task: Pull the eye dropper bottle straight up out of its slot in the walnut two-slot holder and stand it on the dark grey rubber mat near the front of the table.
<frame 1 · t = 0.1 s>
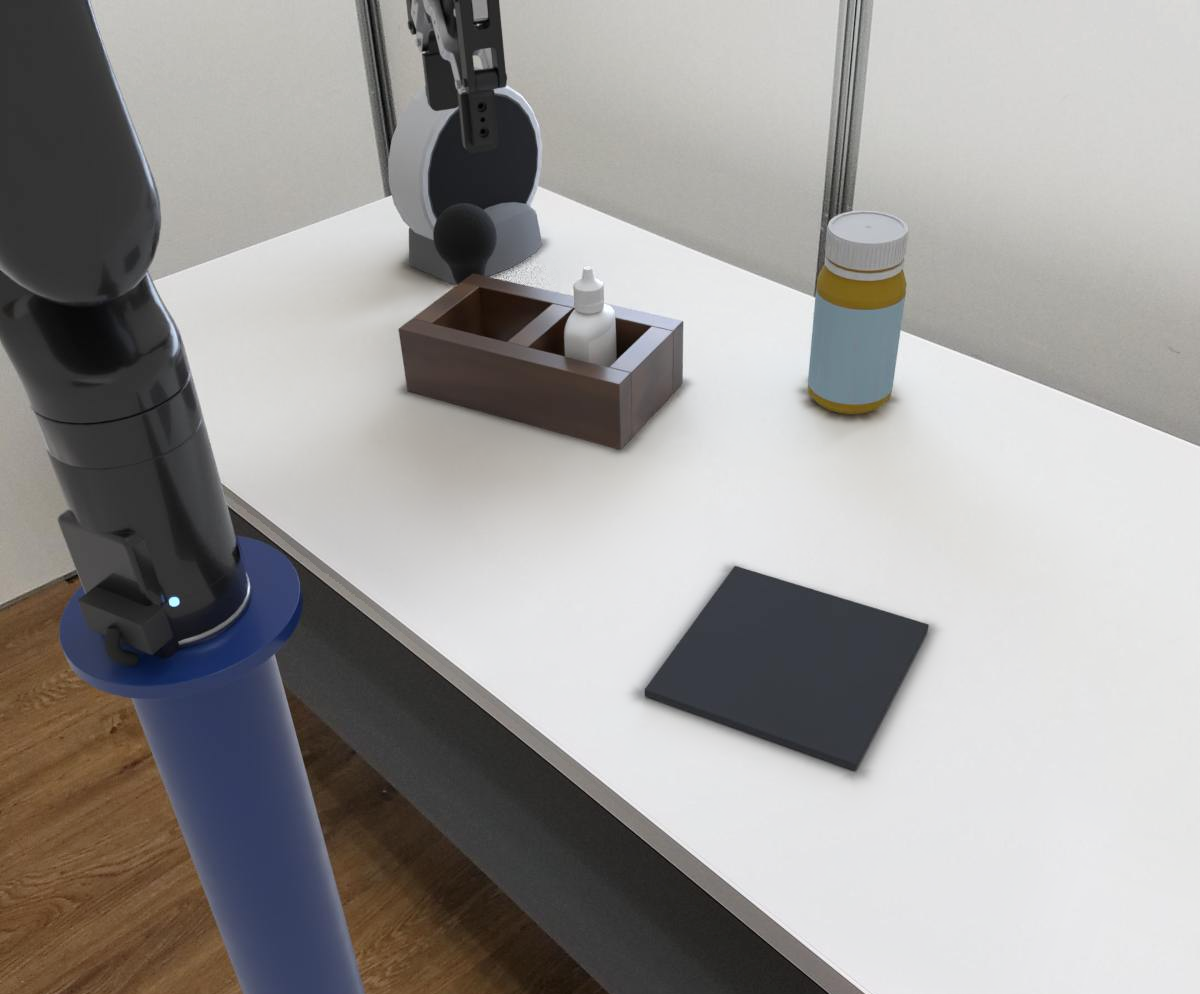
hand: (462, 128, 85), 26 cm above the table, tool pointing down, fingers open, 8 cm apart
mat: (789, 662, 82), on the table
holder: (544, 387, 109), on the table
eye dropper bottle: (592, 401, 107), resting in holder
alarm clock: (476, 255, 130), on the table
light bulb: (472, 308, 121), on the table
bottle: (848, 397, 107), on the table
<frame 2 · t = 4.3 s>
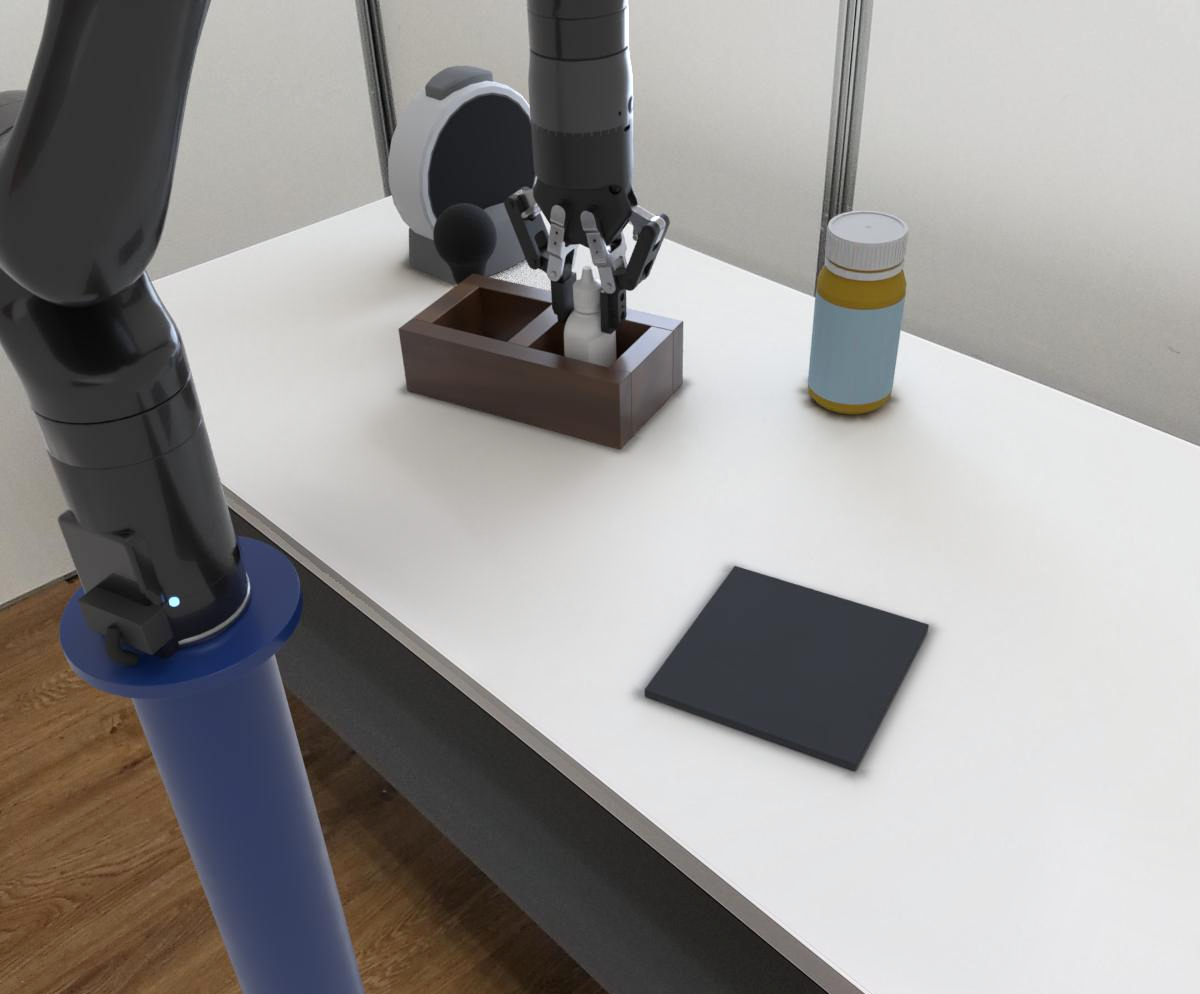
hand: (589, 323, 103), 7 cm above the table, tool pointing down, fingers closed on eye dropper bottle, 3 cm apart
eye dropper bottle: (592, 401, 107), resting in holder, touching gripper
everything else where it was.
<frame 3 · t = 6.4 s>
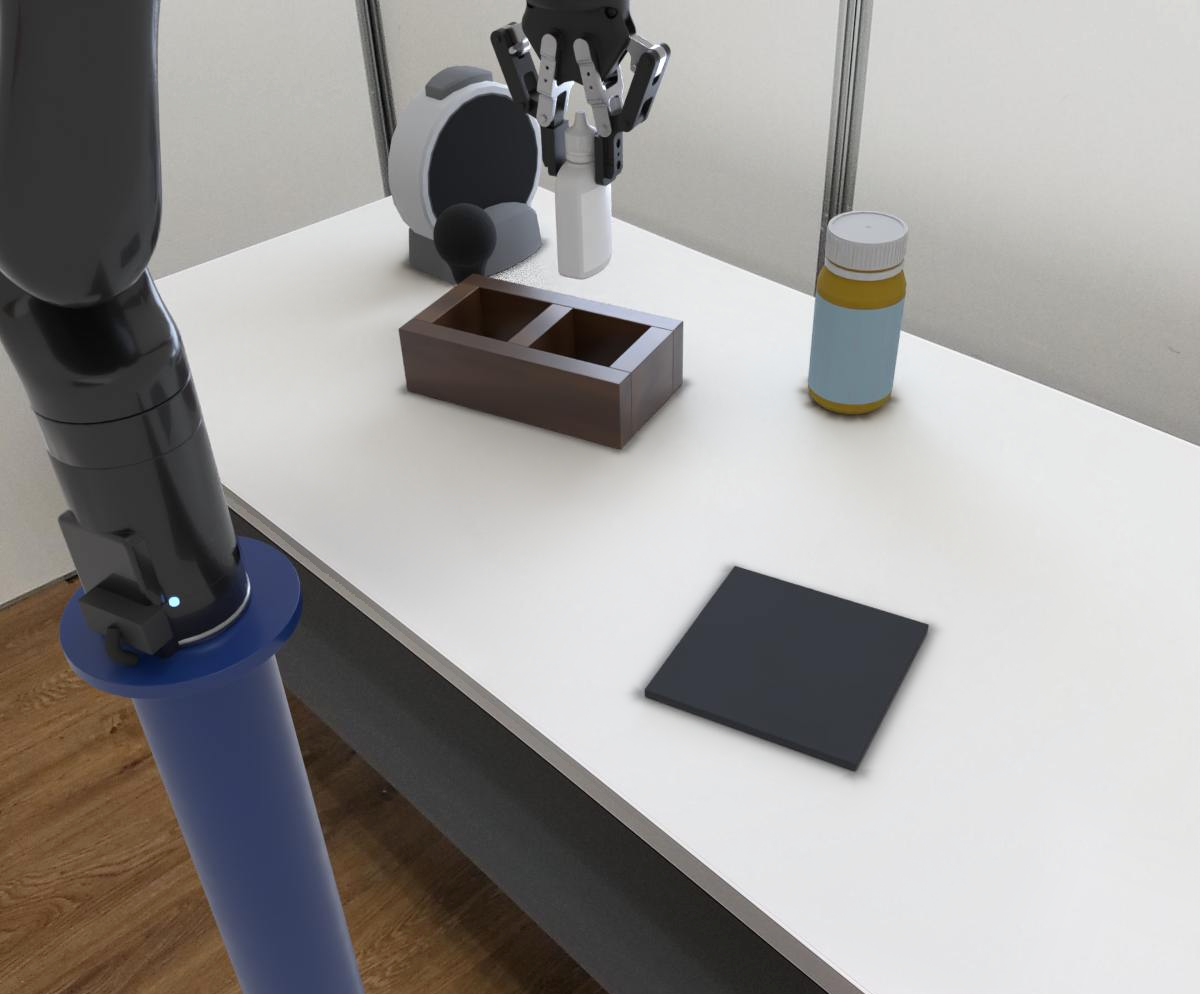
hand: (583, 176, 95), 20 cm above the table, tool pointing down, fingers closed on eye dropper bottle, 3 cm apart
eye dropper bottle: (585, 268, 99), point 12 cm above the table, touching gripper
everything else where it was.
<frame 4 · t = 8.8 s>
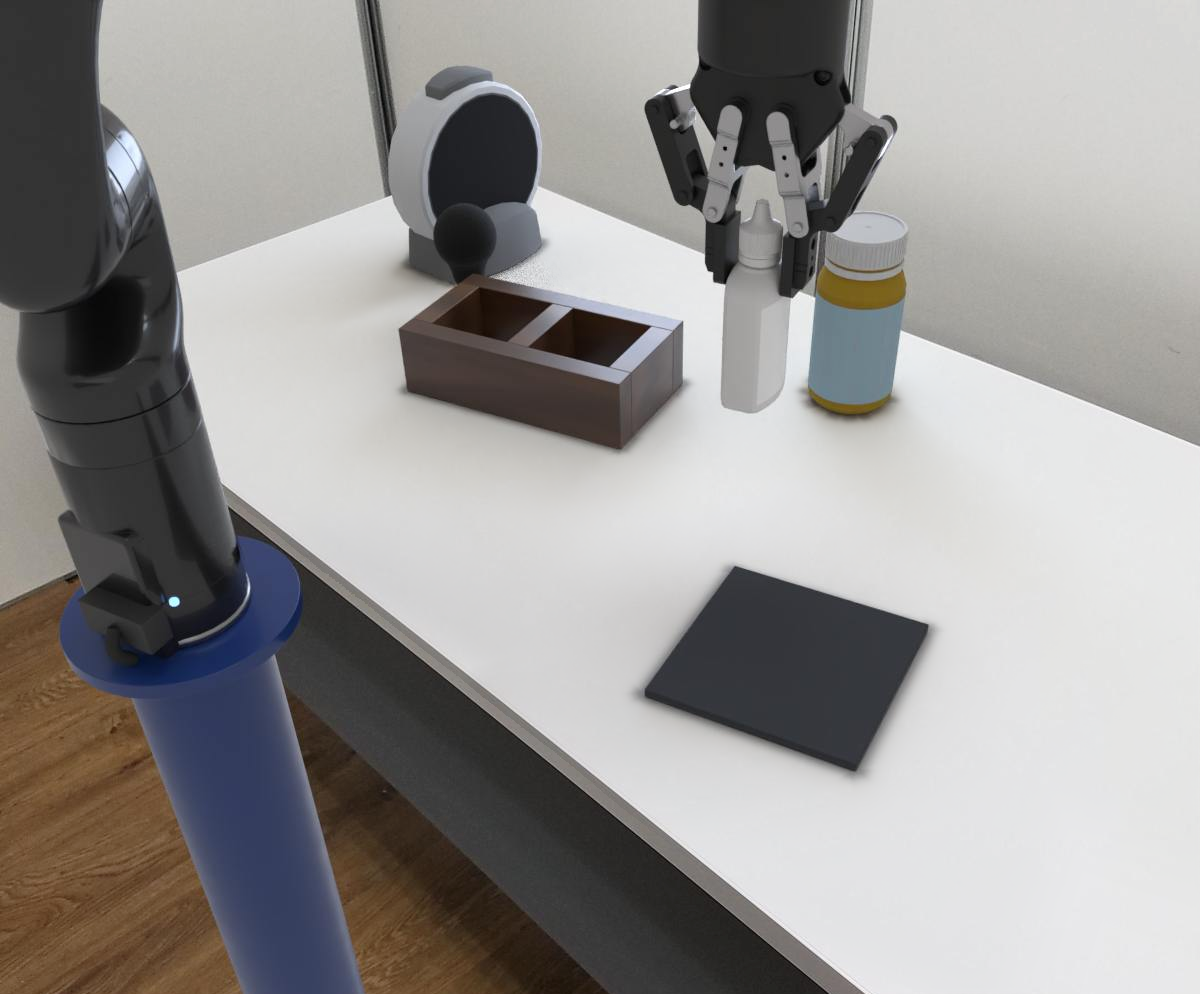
hand: (758, 283, 72), 23 cm above the table, tool pointing down, fingers closed on eye dropper bottle, 3 cm apart
eye dropper bottle: (752, 395, 77), point 16 cm above the table, touching gripper
everything else where it was.
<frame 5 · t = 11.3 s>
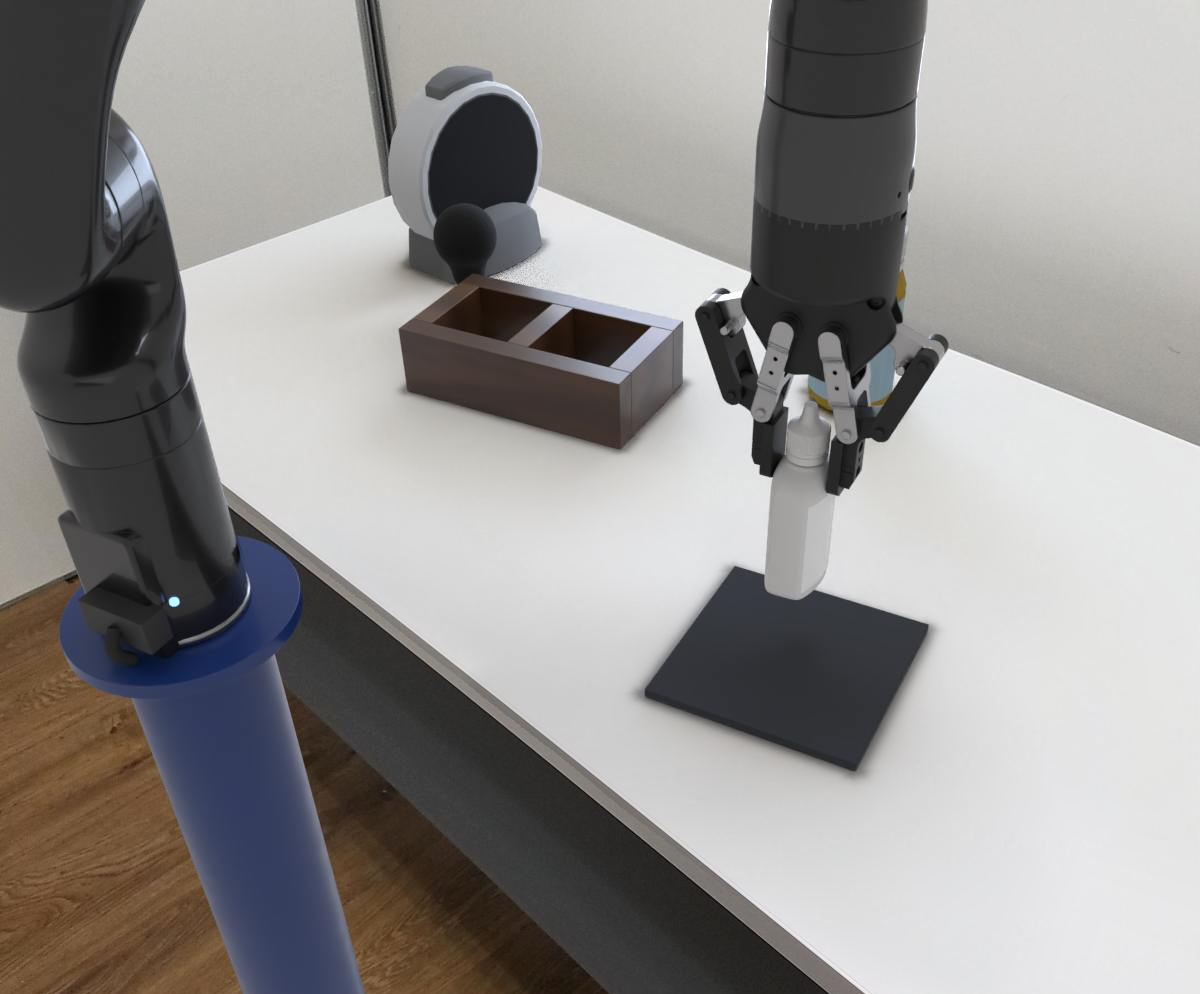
hand: (805, 477, 72), 15 cm above the table, tool pointing down, fingers closed on eye dropper bottle, 3 cm apart
eye dropper bottle: (796, 576, 77), point 7 cm above the table, touching gripper
everything else where it was.
when the fingers open (8 cm above the table, at t = 13.2 s): eye dropper bottle stays where it is, resting on mat.
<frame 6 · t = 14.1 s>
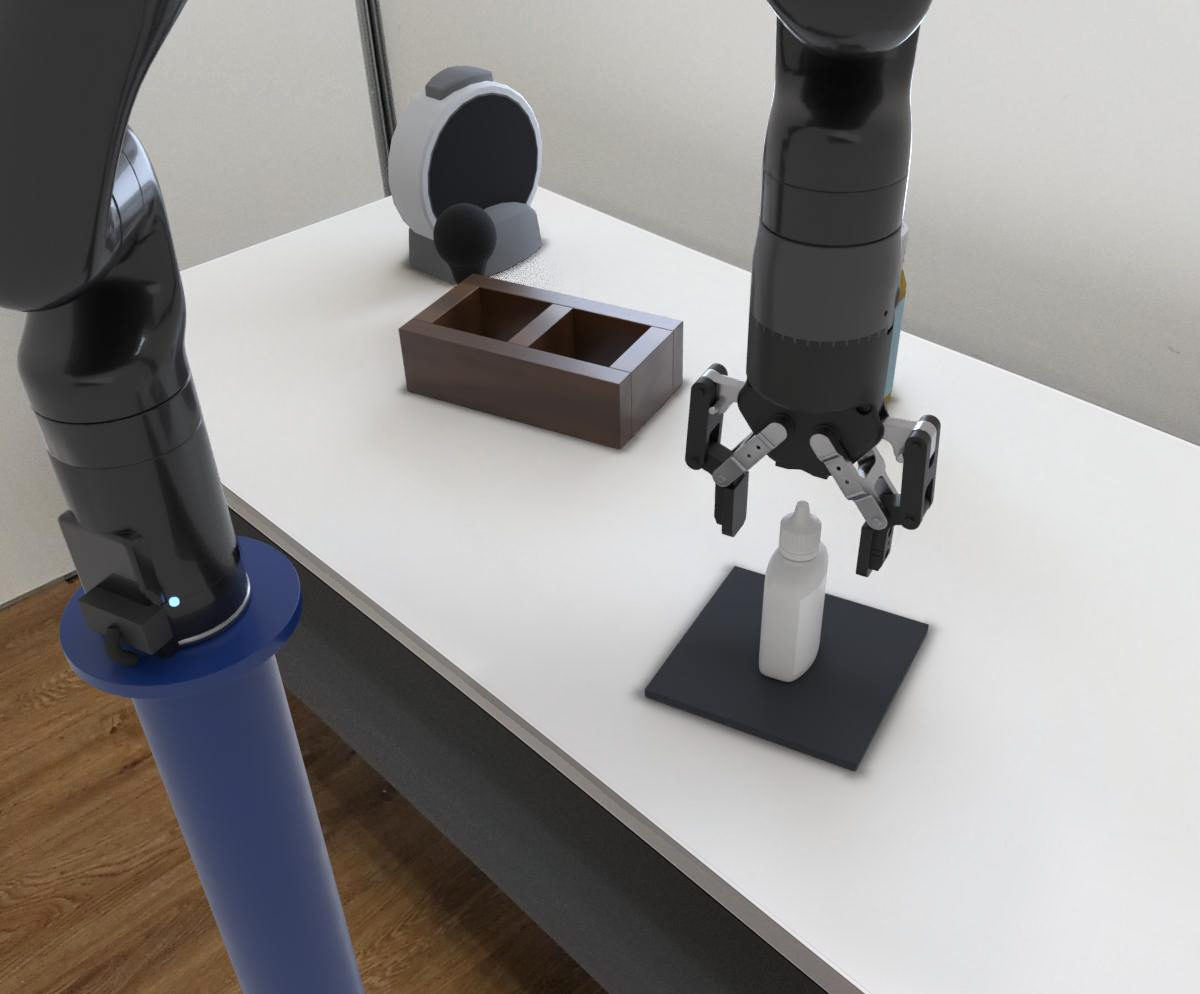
hand: (799, 548, 76), 9 cm above the table, tool pointing down, fingers open, 8 cm apart
eye dropper bottle: (788, 657, 81), resting on mat
everything else where it was.
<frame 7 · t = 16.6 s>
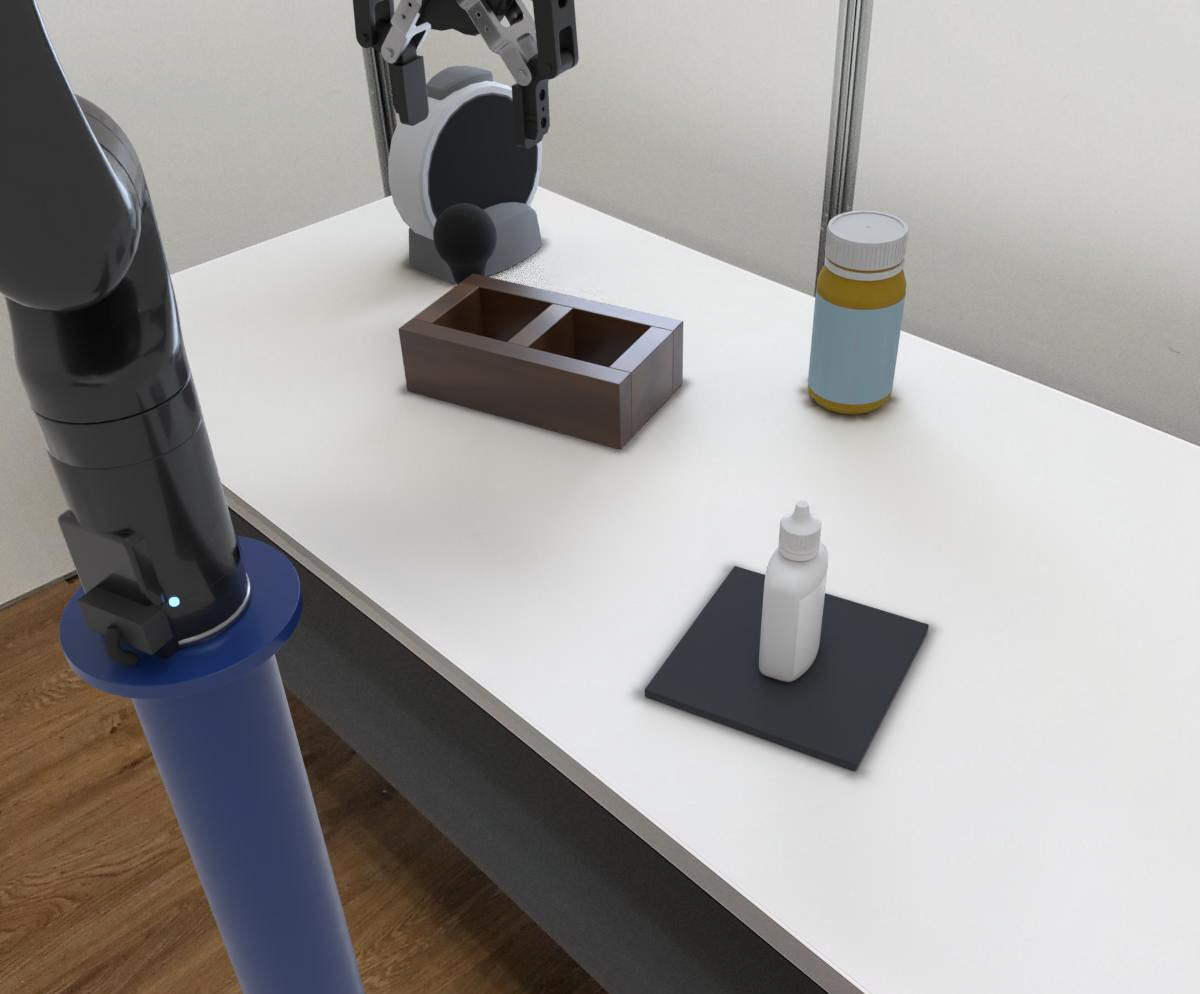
hand: (471, 132, 78), 28 cm above the table, tool pointing down, fingers open, 8 cm apart
nothing on the table moved.
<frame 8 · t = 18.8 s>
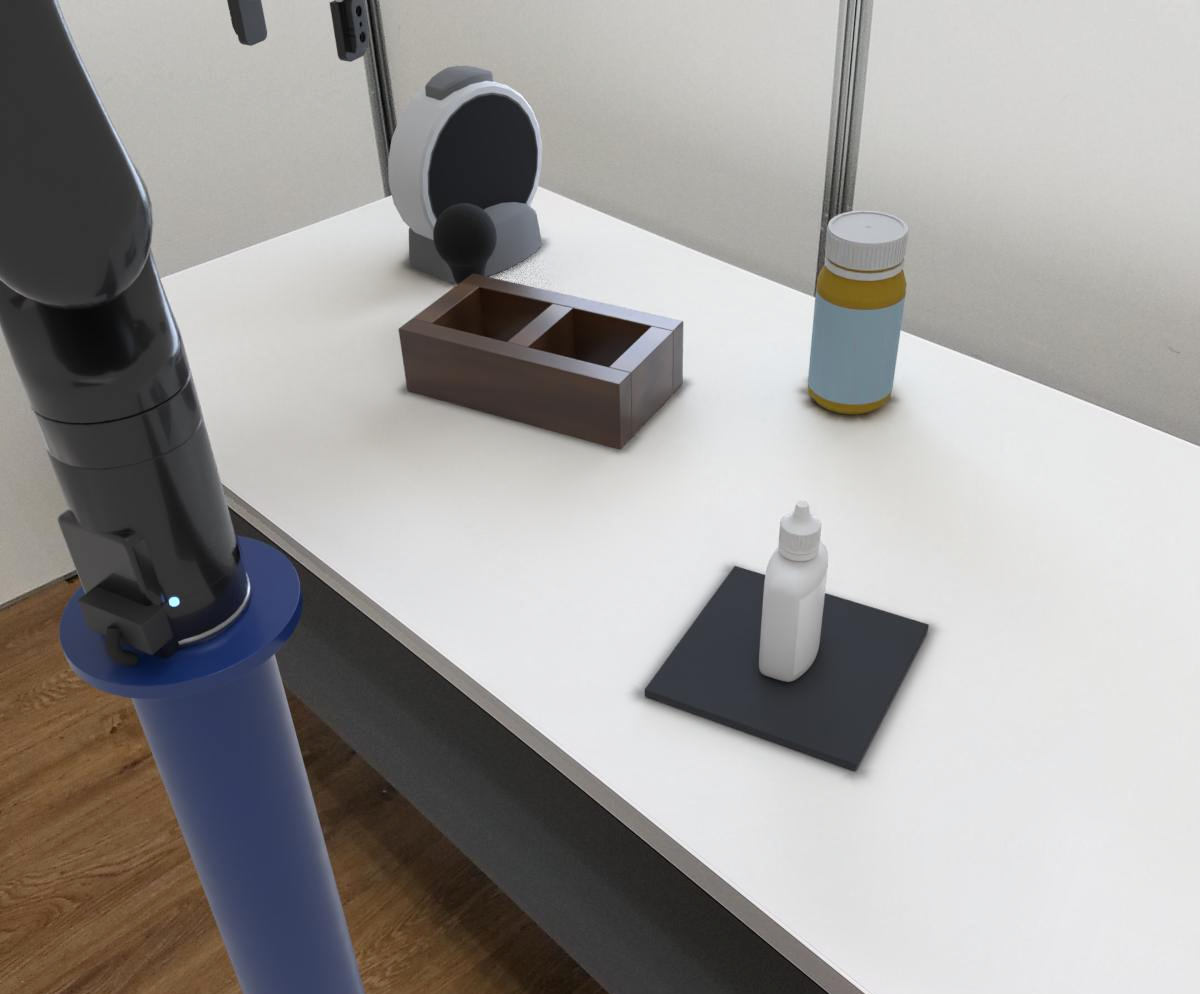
hand: (303, 50, 86), 30 cm above the table, tool pointing down, fingers open, 8 cm apart
nothing on the table moved.
at the end: eye dropper bottle inside the target area on the mat (0.1 cm from its centre), point 0.4 cm above the mat's base; eye dropper bottle tilted 0°; the gripper is holding nothing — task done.
